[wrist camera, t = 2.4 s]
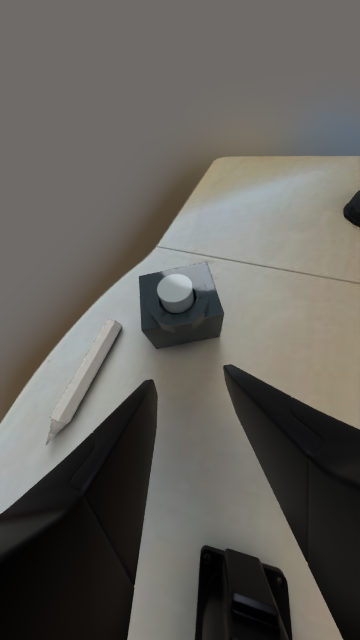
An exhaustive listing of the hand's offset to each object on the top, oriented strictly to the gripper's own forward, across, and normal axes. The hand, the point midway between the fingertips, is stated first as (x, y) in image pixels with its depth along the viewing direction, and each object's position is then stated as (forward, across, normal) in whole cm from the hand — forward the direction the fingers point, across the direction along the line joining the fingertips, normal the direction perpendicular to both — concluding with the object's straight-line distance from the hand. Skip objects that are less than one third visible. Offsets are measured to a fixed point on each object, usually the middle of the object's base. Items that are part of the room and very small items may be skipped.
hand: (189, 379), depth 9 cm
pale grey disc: (+10, 0, -2) cm, 10 cm away
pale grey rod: (+13, +14, +6) cm, 20 cm away
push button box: (+17, 0, +1) cm, 17 cm away
